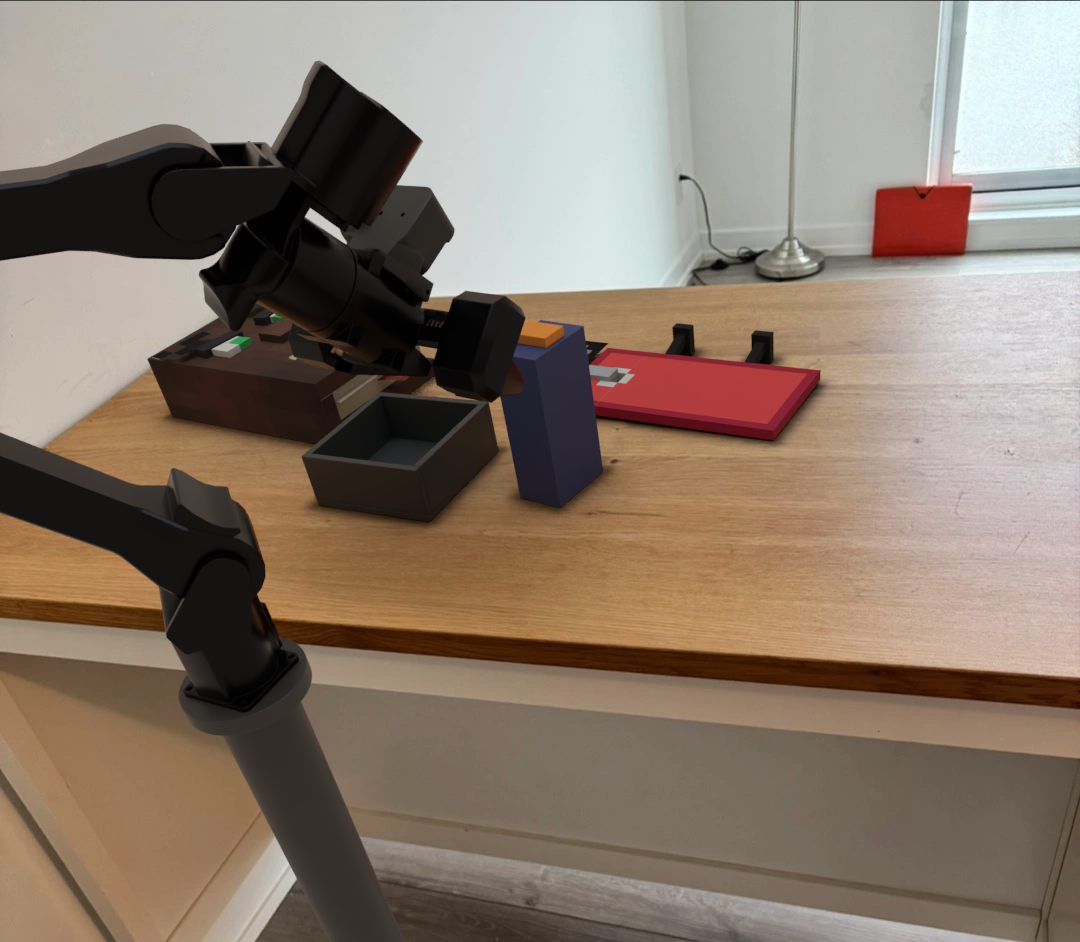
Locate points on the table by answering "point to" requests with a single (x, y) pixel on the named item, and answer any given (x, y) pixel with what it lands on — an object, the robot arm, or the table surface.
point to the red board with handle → (699, 387)
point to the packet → (553, 414)
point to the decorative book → (262, 381)
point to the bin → (402, 455)
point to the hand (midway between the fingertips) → (473, 378)
